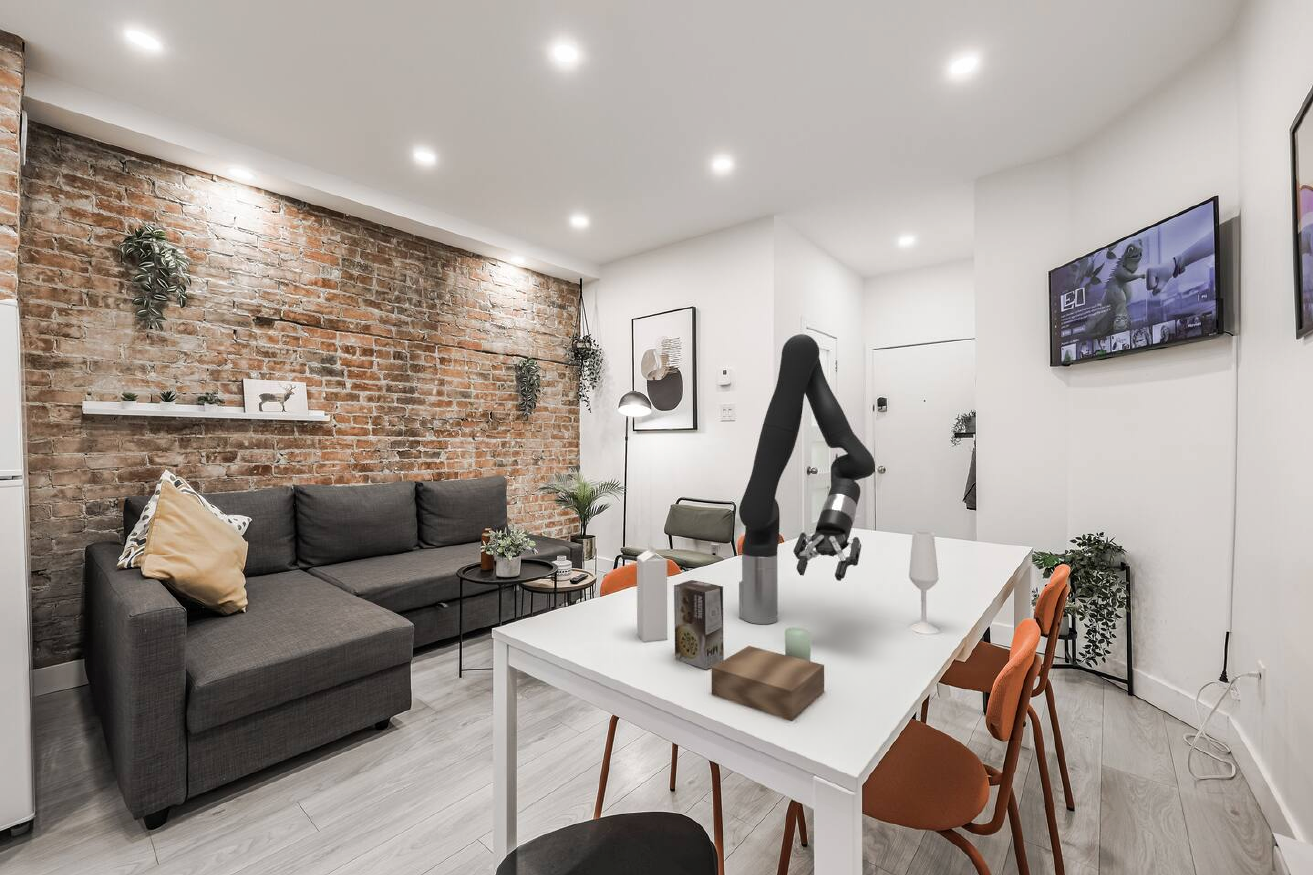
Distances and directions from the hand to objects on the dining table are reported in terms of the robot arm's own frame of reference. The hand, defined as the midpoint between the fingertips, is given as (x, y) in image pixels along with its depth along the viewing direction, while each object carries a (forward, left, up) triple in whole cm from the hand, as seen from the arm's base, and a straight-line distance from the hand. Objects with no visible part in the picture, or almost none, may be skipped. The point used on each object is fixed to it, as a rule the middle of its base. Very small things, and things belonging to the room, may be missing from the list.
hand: (818, 576), depth 123 cm
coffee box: (-19, -19, -18) cm, 32 cm away
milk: (-36, -14, -18) cm, 42 cm away
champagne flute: (+14, +32, -18) cm, 39 cm away
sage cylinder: (0, -11, -17) cm, 20 cm away
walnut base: (0, -24, -17) cm, 29 cm away
